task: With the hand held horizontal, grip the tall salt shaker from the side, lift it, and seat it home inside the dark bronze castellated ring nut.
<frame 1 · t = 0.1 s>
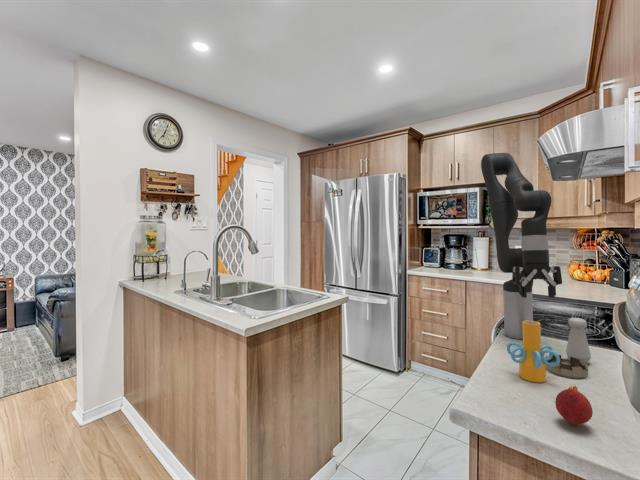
hand: (537, 297, 103), 17 cm above the countertop, tool pointing down, fingers open, 8 cm apart
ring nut: (566, 371, 86), on the countertop
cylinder: (532, 378, 83), on the countertop
red oval fruit: (573, 426, 62), on the countertop
salt shaker: (578, 362, 92), on the countertop
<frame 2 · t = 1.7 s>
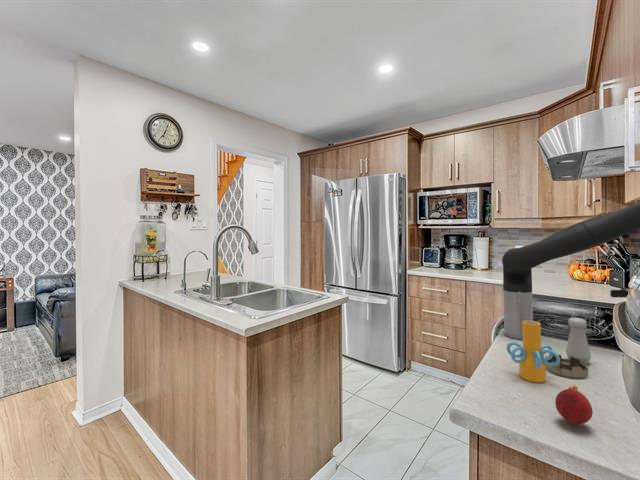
hand: (622, 296, 90), 20 cm above the countertop, tool horizontal, fingers open, 8 cm apart
nothing on the countertop moved.
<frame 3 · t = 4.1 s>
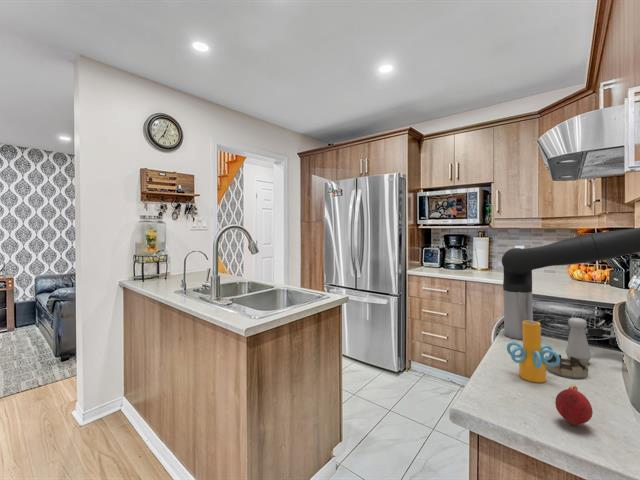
hand: (598, 336, 91), 8 cm above the countertop, tool horizontal, fingers open, 8 cm apart
nothing on the countertop moved.
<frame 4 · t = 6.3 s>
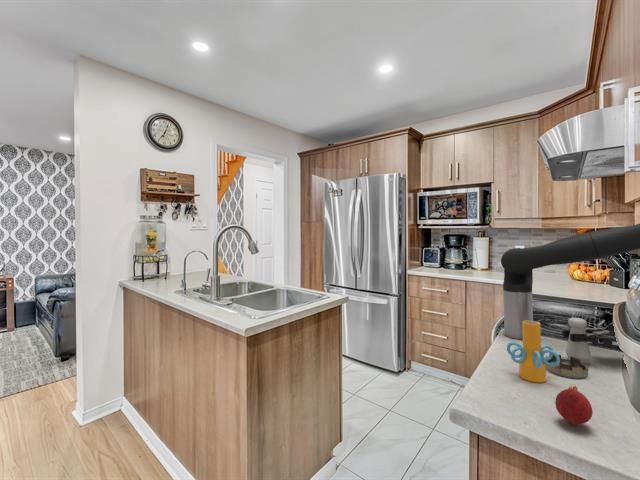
hand: (567, 335, 92), 8 cm above the countertop, tool horizontal, fingers closed on salt shaker, 3 cm apart
salt shaker: (578, 362, 92), on the countertop, touching gripper
everything else where it was.
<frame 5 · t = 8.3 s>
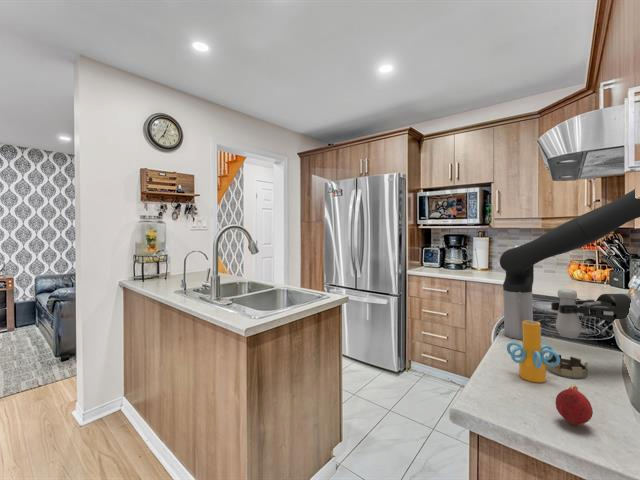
hand: (556, 307, 87), 18 cm above the countertop, tool horizontal, fingers closed on salt shaker, 3 cm apart
salt shaker: (568, 336, 86), point 10 cm above the countertop, touching gripper
everything else where it was.
when the fingers open (10 cm above the countertop, at t = 10.6 s): salt shaker drops 1 cm, resting on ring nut.
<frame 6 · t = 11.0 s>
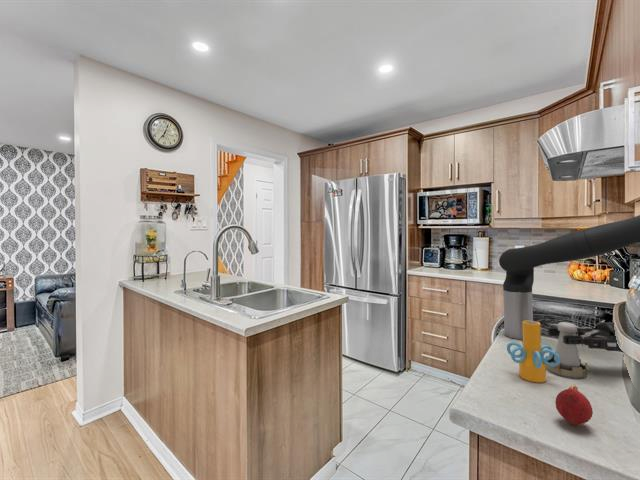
hand: (556, 335, 86), 10 cm above the countertop, tool horizontal, fingers open, 6 cm apart
salt shaker: (566, 370, 86), resting on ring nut
everything else where it was.
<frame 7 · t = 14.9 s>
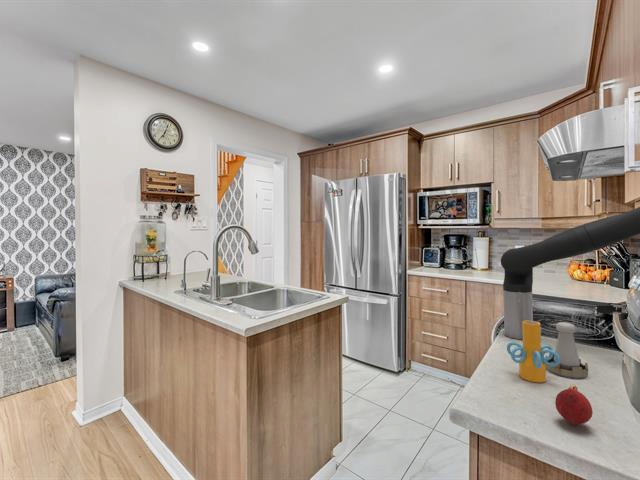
hand: (608, 312, 85), 16 cm above the countertop, tool horizontal, fingers open, 8 cm apart
nothing on the countertop moved.
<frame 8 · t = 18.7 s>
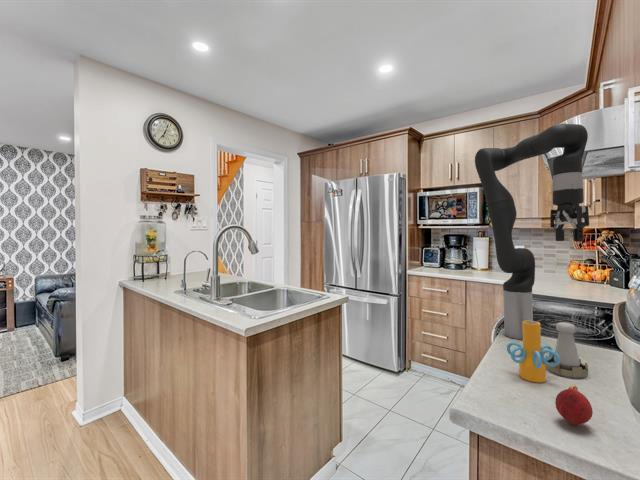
hand: (568, 241, 96), 36 cm above the countertop, tool pointing down, fingers open, 8 cm apart
nothing on the countertop moved.
at the end: salt shaker 0.2 cm from the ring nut (horizontally); salt shaker tilted 0°; salt shaker resting on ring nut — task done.
